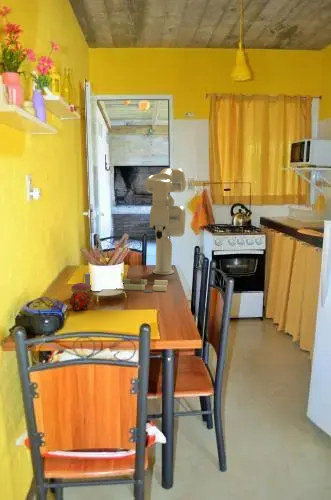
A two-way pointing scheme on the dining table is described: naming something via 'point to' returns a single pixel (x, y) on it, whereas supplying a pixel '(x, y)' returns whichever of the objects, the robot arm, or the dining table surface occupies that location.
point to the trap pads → (149, 290)
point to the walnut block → (135, 281)
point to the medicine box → (87, 279)
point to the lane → (156, 286)
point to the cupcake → (80, 286)
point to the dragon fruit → (80, 300)
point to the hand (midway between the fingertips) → (159, 238)
